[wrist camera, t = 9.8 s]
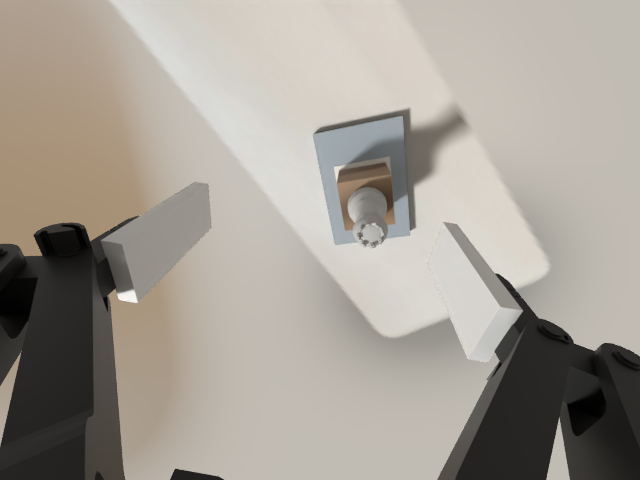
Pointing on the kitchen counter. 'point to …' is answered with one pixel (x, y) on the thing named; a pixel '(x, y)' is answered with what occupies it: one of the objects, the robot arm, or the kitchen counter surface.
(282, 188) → the kitchen counter surface
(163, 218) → the robot arm
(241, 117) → the kitchen counter surface
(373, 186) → the walnut cube
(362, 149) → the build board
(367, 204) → the rook chess piece
